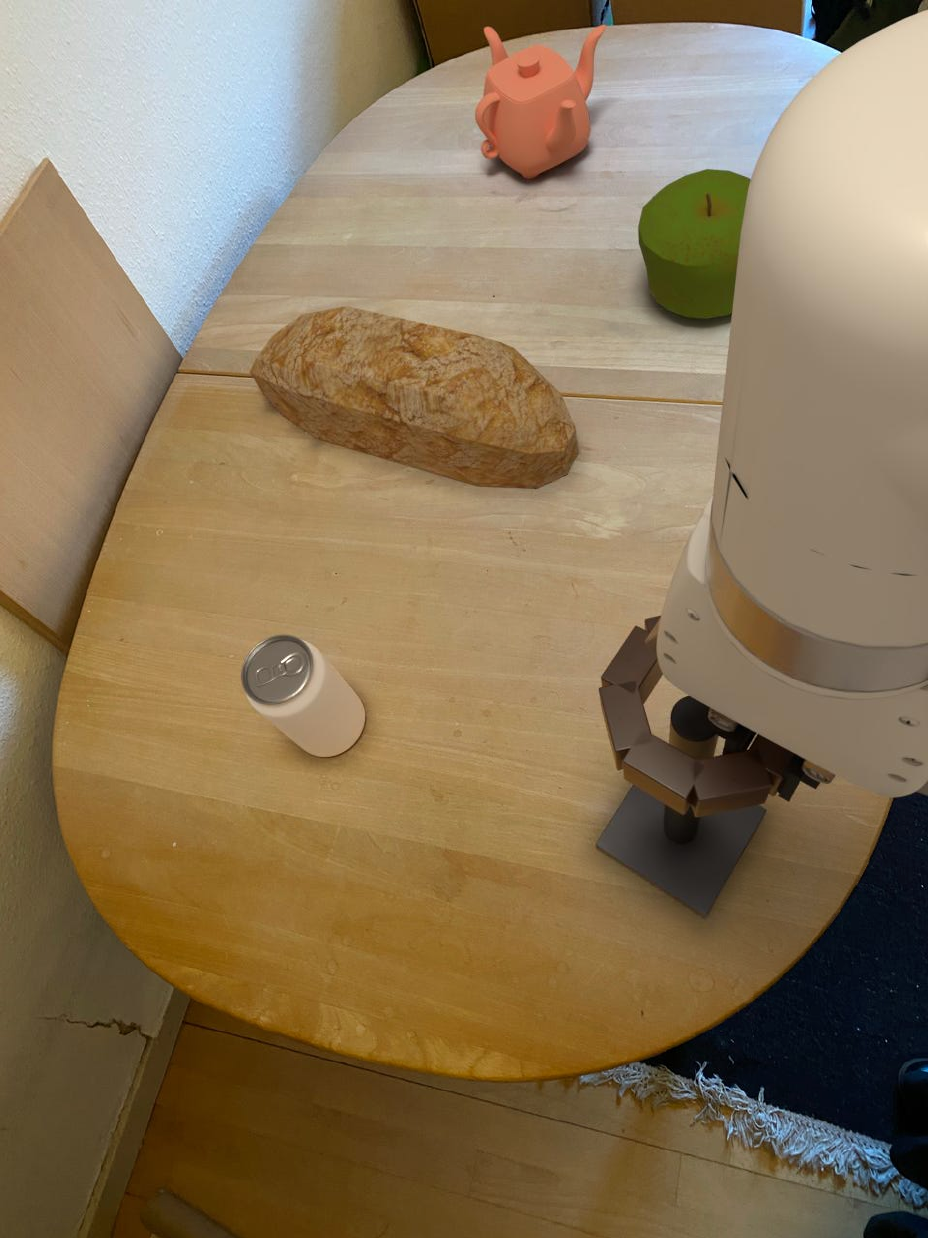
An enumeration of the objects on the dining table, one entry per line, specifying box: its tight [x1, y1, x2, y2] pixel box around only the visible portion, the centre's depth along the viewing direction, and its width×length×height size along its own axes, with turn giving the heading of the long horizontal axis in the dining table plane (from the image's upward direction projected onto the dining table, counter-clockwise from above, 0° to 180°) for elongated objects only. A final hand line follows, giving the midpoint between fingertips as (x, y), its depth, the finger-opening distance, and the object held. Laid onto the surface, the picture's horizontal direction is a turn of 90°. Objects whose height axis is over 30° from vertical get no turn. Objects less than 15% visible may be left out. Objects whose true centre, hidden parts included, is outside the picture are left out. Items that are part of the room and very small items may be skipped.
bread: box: [249, 306, 579, 489], centre depth 81 cm, size 36×11×10 cm, turn 63°
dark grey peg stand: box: [595, 695, 768, 920], centre depth 51 cm, size 9×9×25 cm
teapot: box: [474, 24, 607, 180], centre depth 95 cm, size 14×14×11 cm
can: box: [240, 634, 366, 758], centre depth 67 cm, size 6×6×12 cm
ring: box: [598, 615, 795, 817], centre depth 39 cm, size 9×9×3 cm
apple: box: [637, 168, 751, 320], centre depth 80 cm, size 12×12×11 cm
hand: (770, 754), depth 38 cm, fingers closed on ring, 2 cm apart
